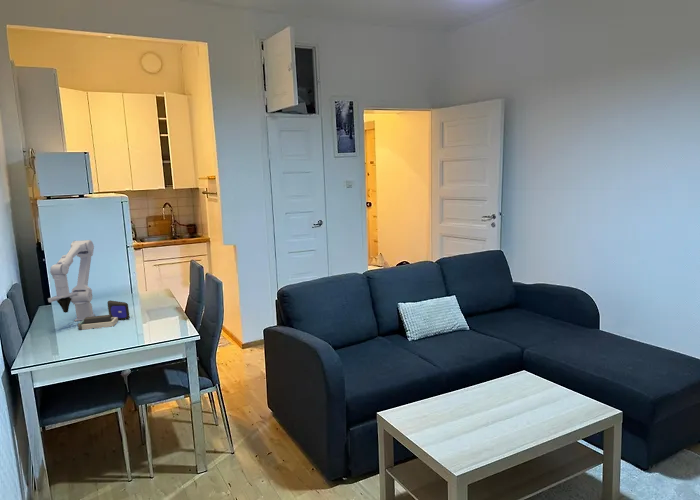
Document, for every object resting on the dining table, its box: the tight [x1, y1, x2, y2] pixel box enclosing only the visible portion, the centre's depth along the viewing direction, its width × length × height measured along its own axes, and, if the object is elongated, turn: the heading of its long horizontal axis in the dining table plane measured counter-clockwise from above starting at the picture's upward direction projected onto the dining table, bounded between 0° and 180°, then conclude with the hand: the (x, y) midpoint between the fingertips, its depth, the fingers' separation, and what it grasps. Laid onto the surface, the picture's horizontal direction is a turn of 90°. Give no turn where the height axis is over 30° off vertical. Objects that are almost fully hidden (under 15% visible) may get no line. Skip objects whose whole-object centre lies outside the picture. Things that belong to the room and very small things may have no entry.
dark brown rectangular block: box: [84, 314, 112, 324], centre depth 253 cm, size 4×12×5 cm, turn 104°
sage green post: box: [77, 320, 84, 330], centre depth 251 cm, size 10×1×3 cm, turn 8°
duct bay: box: [81, 317, 119, 331], centre depth 253 cm, size 9×15×2 cm, turn 101°
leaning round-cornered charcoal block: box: [107, 300, 131, 321], centre depth 264 cm, size 16×5×9 cm, turn 60°
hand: (65, 312), depth 252 cm, fingers closed
